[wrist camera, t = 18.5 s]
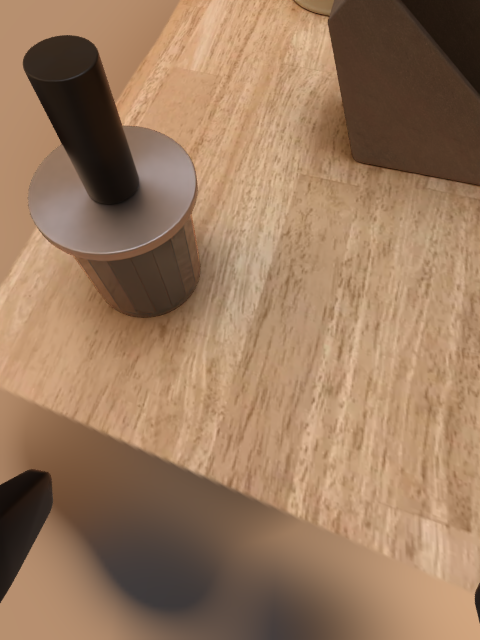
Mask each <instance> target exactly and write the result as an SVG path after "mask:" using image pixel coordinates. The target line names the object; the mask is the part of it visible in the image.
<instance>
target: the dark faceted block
mask: <svg viewBox="0 0 480 640" xmlns="http://www.w3.org/2000/svg"><path fill="white" fill-rule="evenodd" d="M328 26H329V32H330V37H331V42H332V48H333V53H334V59H335V64H336V70H337V75H338V80H339V86H340V91H341V97H342V102H343V108H344V113H345V118H346V124H347V129H348V134H349V140H350V145H351V150H352V155H353V158H354V159H355V160H356V161H358V162H362V163H367V164H372V165H377V166H382V167H387V168H392V169H398V170H403V171H408V172H413V173H419V174H424V175H429V176H434V177H440V178H445V179H450V180H455V181H461V182H466V183H471V184H477V185H480V0H334V3H333V6H332V9H331V13H330V16H329V19H328Z"/></svg>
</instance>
